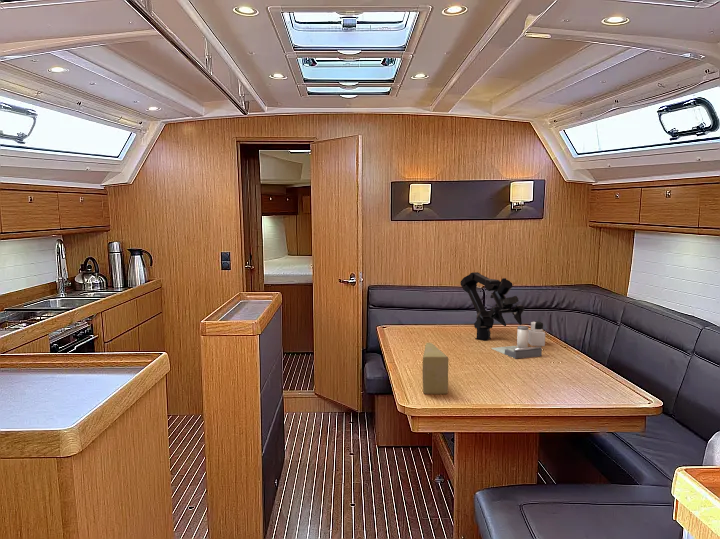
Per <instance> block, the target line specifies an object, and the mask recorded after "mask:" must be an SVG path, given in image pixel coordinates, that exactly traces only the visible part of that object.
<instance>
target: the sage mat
mask: <svg viewBox="0 0 720 539" xmlns="http://www.w3.org/2000/svg"><path fill="white" fill-rule="evenodd" d="M490 349H491V350H494V351H496V352H498V353H501V354H503V355H505V349H508V350H511V351H513V352H514V349H517V345H508V346H499V347H491V348H490Z"/></svg>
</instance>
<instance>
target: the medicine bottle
mask: <svg viewBox="0 0 720 539" xmlns="http://www.w3.org/2000/svg"><path fill="white" fill-rule="evenodd" d="M543 330H544V323H543V322H541V321H531V322H530V329H528V345H530V347H539V346H541V347H545V346H546V332H545V331H543Z"/></svg>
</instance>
